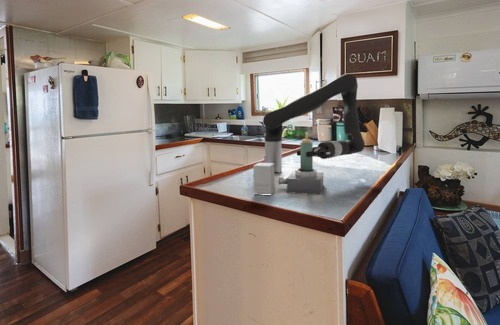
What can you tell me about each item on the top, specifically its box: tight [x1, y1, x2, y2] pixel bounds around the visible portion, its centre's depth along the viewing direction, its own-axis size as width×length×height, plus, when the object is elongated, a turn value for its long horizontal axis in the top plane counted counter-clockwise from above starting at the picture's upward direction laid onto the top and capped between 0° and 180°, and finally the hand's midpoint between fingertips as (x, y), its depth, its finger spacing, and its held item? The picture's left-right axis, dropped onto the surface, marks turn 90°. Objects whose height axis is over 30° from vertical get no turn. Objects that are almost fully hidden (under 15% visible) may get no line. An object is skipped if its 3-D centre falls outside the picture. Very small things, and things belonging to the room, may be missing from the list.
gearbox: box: [277, 168, 324, 195], centre depth 137 cm, size 19×16×8 cm
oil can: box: [299, 131, 314, 171], centre depth 135 cm, size 5×5×17 cm
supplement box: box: [252, 162, 276, 195], centre depth 131 cm, size 7×7×13 cm
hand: (302, 153), depth 133 cm, fingers closed on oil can, 5 cm apart
